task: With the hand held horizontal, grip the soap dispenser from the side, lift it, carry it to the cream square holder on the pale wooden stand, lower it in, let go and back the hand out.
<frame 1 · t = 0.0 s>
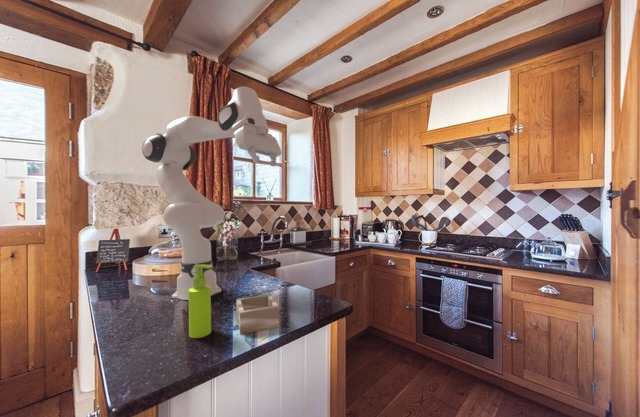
hand: (265, 164, 92), 52 cm above the table, tool tilted 20°, fingers open, 8 cm apart
soap dispenser: (201, 334, 76), on the table
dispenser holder: (257, 322, 83), on the table
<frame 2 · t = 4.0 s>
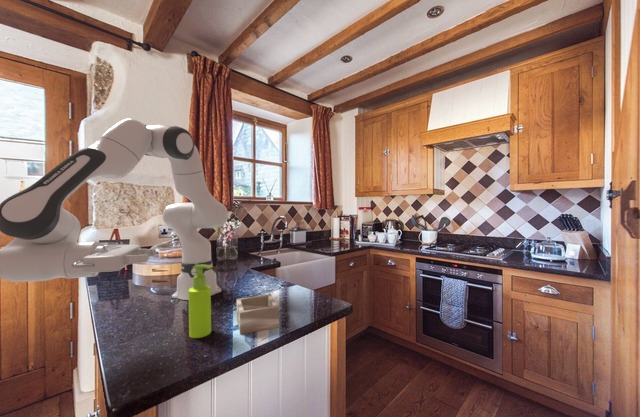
hand: (152, 254, 71), 24 cm above the table, tool horizontal, fingers open, 8 cm apart
nothing on the table moved.
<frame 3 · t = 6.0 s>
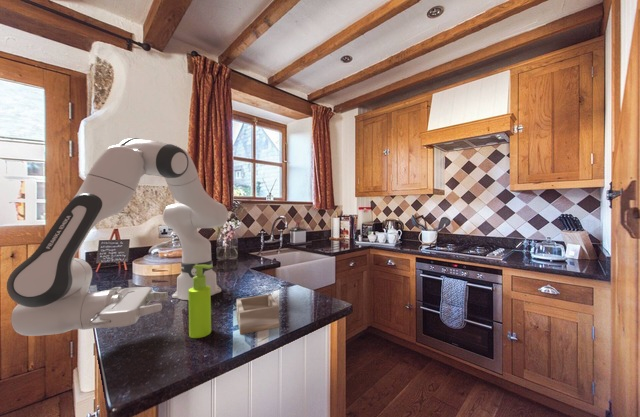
hand: (164, 300, 72), 11 cm above the table, tool horizontal, fingers open, 8 cm apart
nothing on the table moved.
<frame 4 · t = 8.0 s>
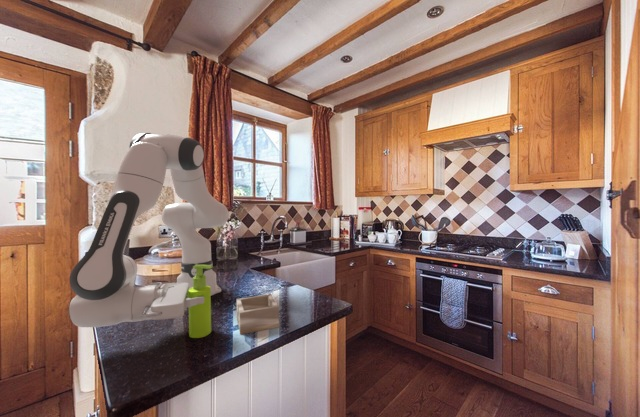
hand: (204, 295, 76), 11 cm above the table, tool horizontal, fingers closed on soap dispenser, 6 cm apart
soap dispenser: (201, 333, 76), on the table, touching gripper
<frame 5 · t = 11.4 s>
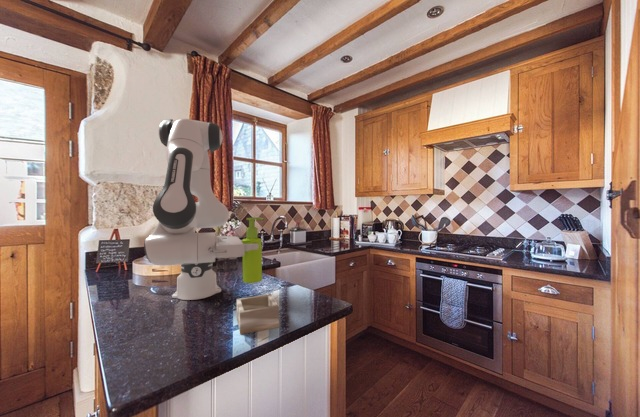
hand: (256, 244, 83), 25 cm above the table, tool horizontal, fingers closed on soap dispenser, 6 cm apart
soap dispenser: (253, 281, 82), point 13 cm above the table, touching gripper
when the fingers open (14 cm above the table, at t = 14.8 s): soap dispenser drops 1 cm, resting on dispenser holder.
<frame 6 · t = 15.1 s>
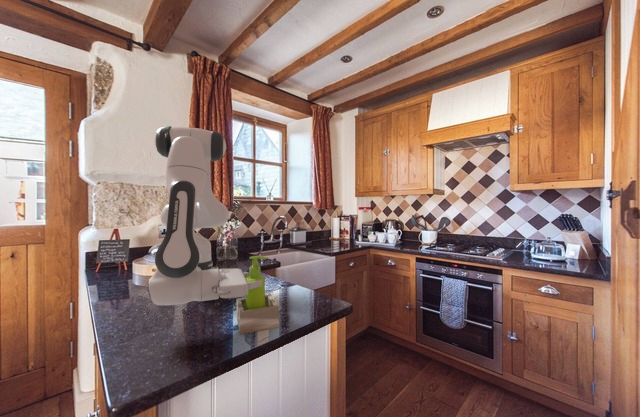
hand: (259, 279, 83), 14 cm above the table, tool horizontal, fingers open, 8 cm apart
soap dispenser: (257, 320, 82), point 1 cm above the table, touching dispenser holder
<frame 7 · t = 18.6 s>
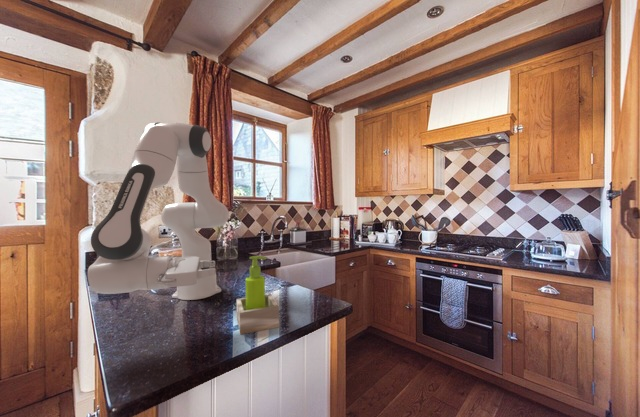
hand: (215, 267, 78), 19 cm above the table, tool horizontal, fingers open, 8 cm apart
nothing on the table moved.
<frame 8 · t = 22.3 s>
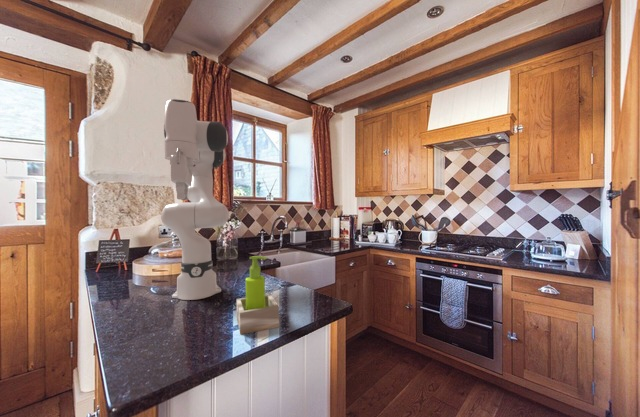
hand: (182, 199, 78), 39 cm above the table, tool pointing down, fingers open, 8 cm apart
nothing on the table moved.
at the end: soap dispenser 1.0 cm off-centre on the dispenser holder, point 1.0 cm above the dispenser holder's base; soap dispenser tilted 0°; the gripper is holding nothing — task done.
